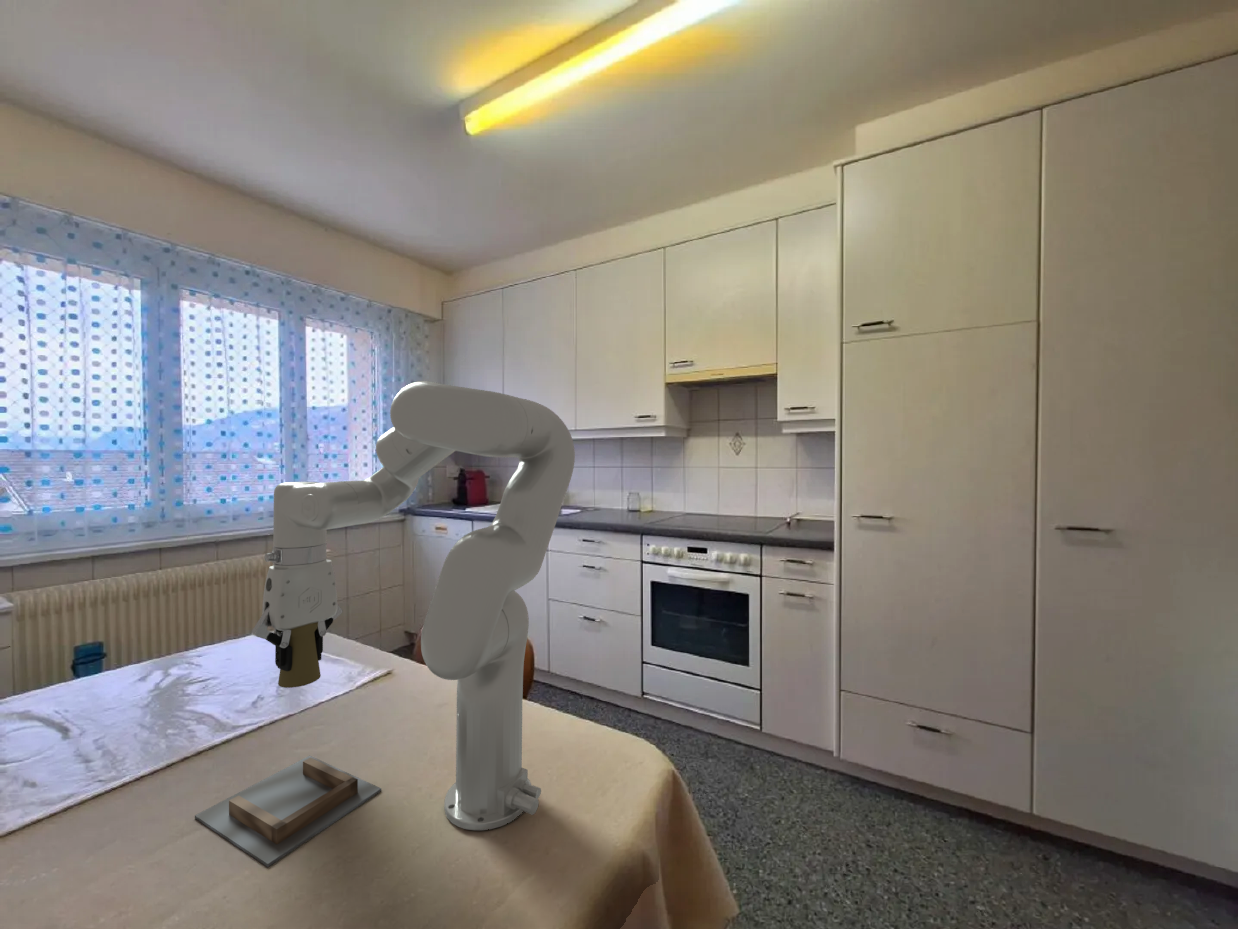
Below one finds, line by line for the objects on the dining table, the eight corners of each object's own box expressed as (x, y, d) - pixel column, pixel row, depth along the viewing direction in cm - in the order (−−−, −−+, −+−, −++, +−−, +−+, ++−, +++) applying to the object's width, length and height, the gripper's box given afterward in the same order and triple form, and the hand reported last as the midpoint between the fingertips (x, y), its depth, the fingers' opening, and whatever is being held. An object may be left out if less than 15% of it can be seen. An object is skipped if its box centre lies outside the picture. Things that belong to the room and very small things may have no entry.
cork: (328, 673, 86) (329, 610, 86) (302, 689, 80) (302, 621, 80) (297, 670, 87) (297, 608, 87) (268, 686, 81) (269, 619, 81)
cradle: (381, 791, 76) (381, 775, 76) (267, 867, 61) (267, 848, 61) (309, 757, 84) (309, 743, 84) (194, 818, 69) (194, 801, 69)
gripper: (256, 567, 74) (255, 689, 74) (361, 550, 89) (360, 652, 89) (231, 561, 77) (230, 678, 78) (336, 546, 92) (335, 644, 92)
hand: (299, 663), depth 83 cm, fingers closed on cork, 4 cm apart
